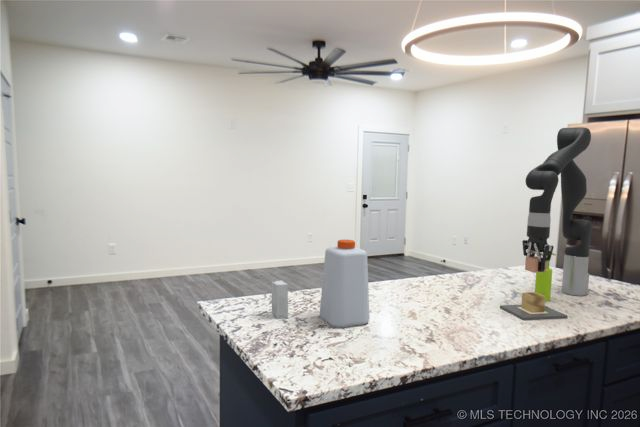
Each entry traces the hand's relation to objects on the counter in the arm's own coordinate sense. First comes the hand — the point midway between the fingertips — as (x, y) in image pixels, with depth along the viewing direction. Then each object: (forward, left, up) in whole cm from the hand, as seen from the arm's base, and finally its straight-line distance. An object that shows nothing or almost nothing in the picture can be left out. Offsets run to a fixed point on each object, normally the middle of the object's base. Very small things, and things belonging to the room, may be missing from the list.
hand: (535, 269), depth 155 cm
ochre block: (0, 0, -16) cm, 16 cm away
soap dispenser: (-17, -15, -17) cm, 28 cm away
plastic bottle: (+73, -2, -17) cm, 75 cm away
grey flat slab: (0, 0, -17) cm, 17 cm away
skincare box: (+95, -9, -17) cm, 97 cm away
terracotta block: (0, 0, 0) cm, 0 cm away
